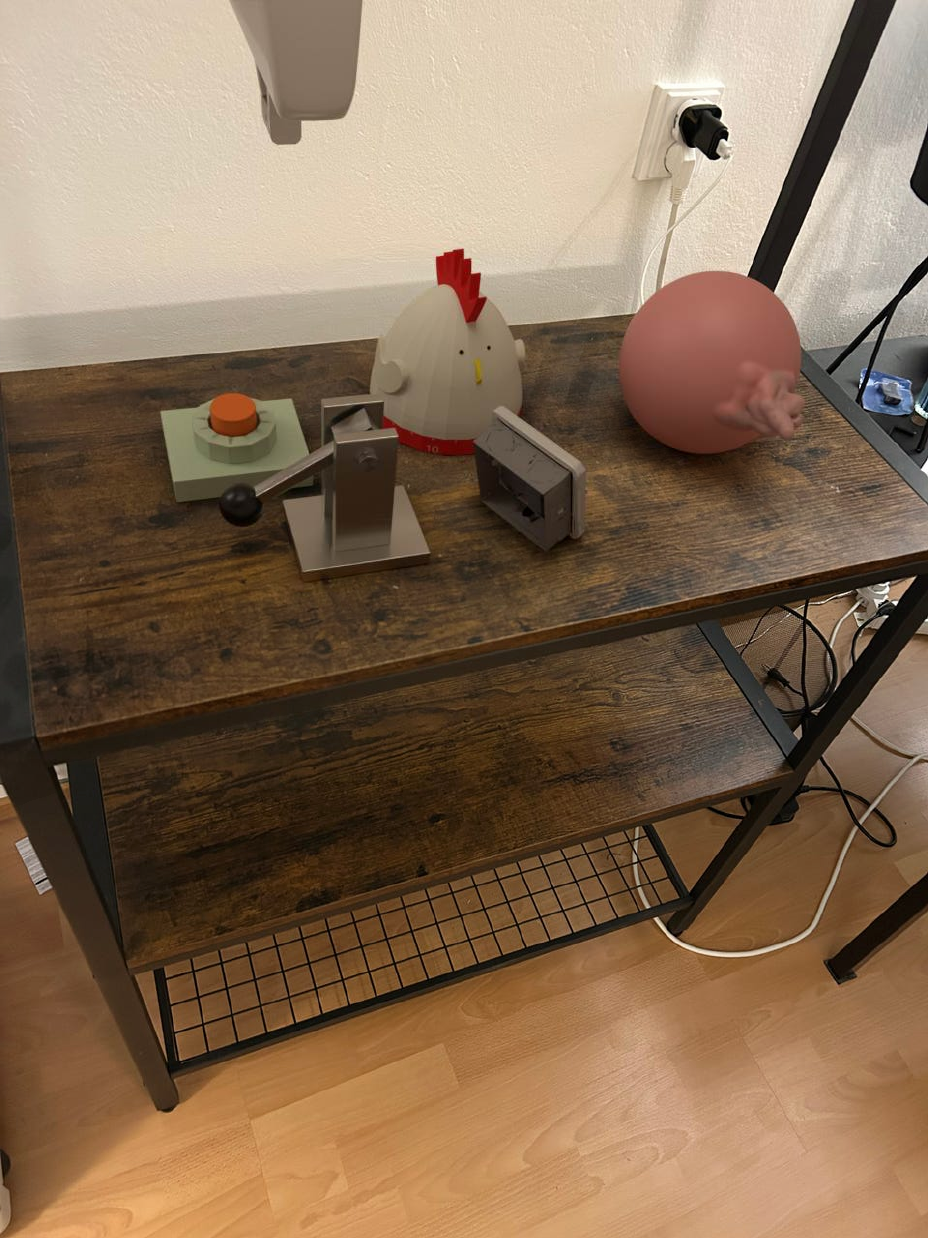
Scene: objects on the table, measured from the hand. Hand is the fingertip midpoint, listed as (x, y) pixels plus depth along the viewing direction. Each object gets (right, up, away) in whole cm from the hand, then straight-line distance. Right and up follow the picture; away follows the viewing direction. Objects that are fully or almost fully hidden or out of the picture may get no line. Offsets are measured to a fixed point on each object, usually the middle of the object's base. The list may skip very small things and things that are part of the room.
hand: (281, 133), depth 57 cm
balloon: (+32, -13, +32) cm, 47 cm away
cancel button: (-8, -13, +22) cm, 26 cm away
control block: (-8, -15, +25) cm, 30 cm away
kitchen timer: (+9, -9, +32) cm, 35 cm away
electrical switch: (+16, -21, +23) cm, 35 cm away
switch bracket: (+2, -22, +20) cm, 30 cm away
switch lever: (-1, -19, +15) cm, 24 cm away
